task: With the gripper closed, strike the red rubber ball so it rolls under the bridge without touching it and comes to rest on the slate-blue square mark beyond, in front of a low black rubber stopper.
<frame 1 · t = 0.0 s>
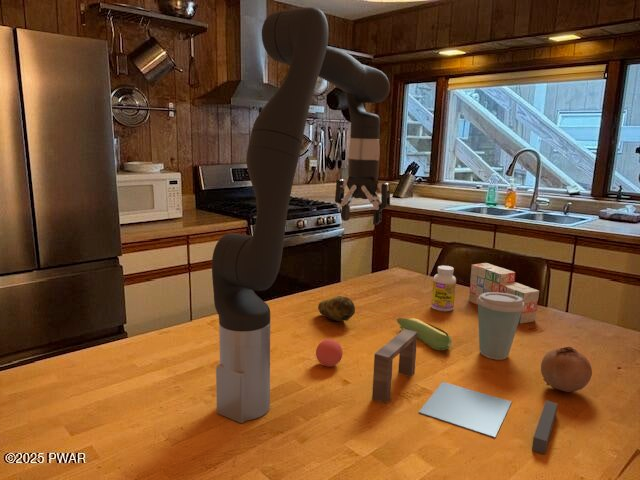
hand: (361, 222, 125), 29 cm above the table, tool pointing down, fingers open, 8 cm apart
supplement bottle: (442, 308, 150), on the table
ball: (329, 352, 111), on the table
onion: (562, 391, 103), on the table
disposable coffee cup: (494, 355, 119), on the table
edible corn: (422, 339, 128), on the table
stack of blocks: (500, 311, 150), on the table
bridge: (394, 385, 103), on the table
potato: (336, 322, 137), on the table
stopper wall: (544, 431, 88), on the table
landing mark: (466, 407, 95), on the table
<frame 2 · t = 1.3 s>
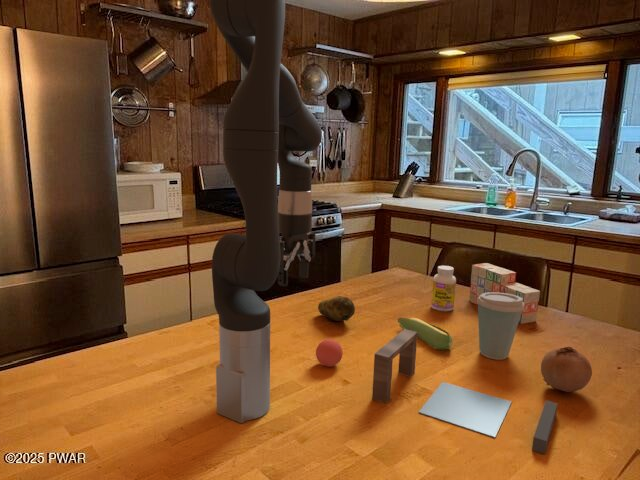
hand: (293, 281, 113), 18 cm above the table, tool pointing down, fingers open, 7 cm apart
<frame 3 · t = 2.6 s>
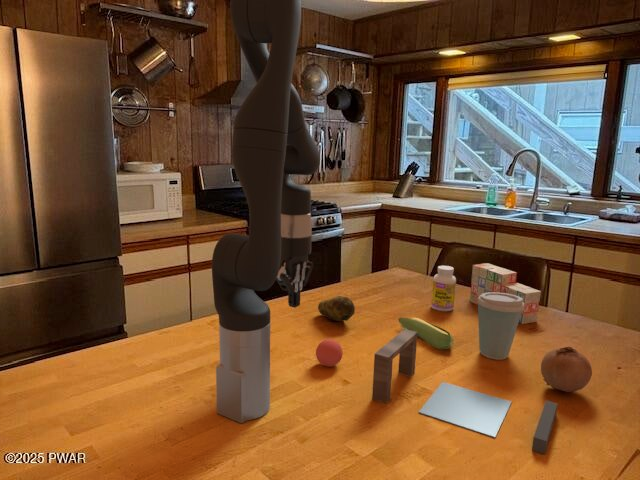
hand: (294, 305, 114), 12 cm above the table, tool pointing down, fingers closed
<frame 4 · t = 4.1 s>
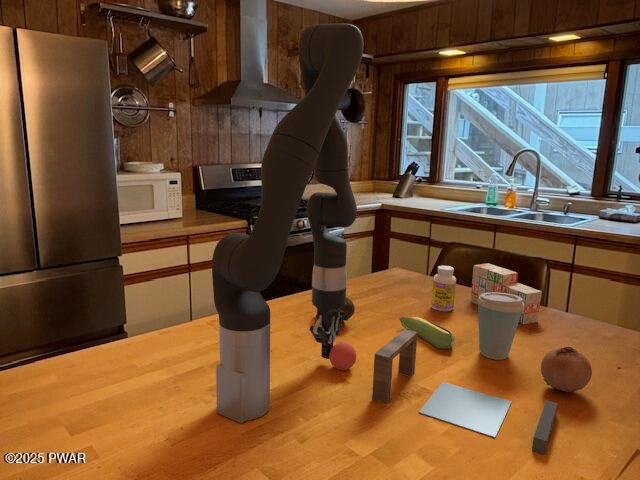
hand: (327, 357, 112), 2 cm above the table, tool pointing down, fingers closed
ball: (342, 356, 109), on the table
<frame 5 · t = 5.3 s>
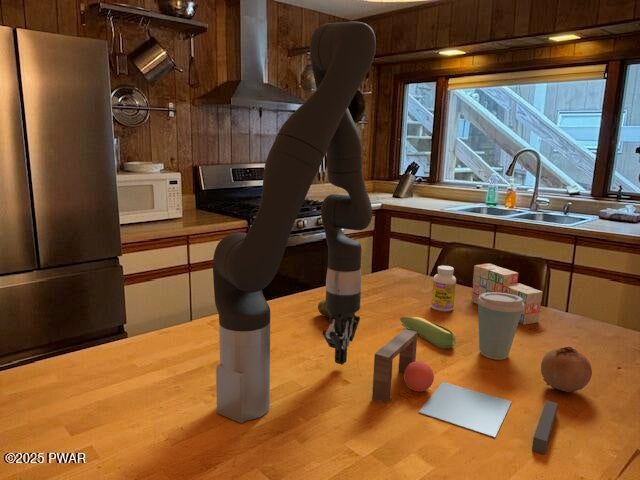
hand: (340, 362, 109), 1 cm above the table, tool pointing down, fingers closed
ball: (418, 376, 101), on the table
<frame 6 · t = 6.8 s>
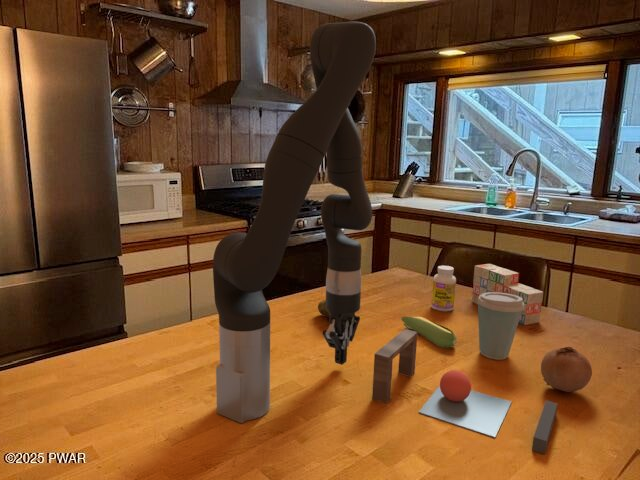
hand: (340, 362, 109), 1 cm above the table, tool pointing down, fingers closed
ball: (455, 385, 98), on the table
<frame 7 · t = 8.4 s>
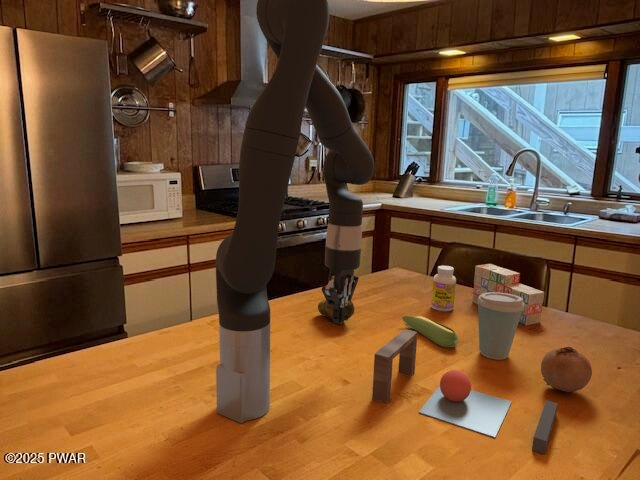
hand: (338, 322, 108), 11 cm above the table, tool pointing down, fingers closed
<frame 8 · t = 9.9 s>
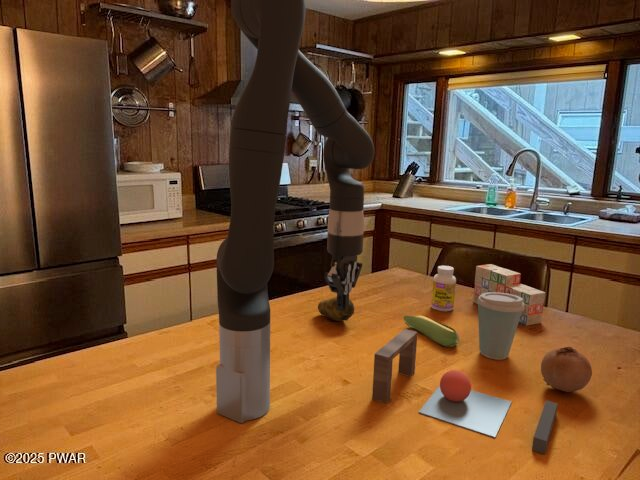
hand: (342, 309, 107), 14 cm above the table, tool pointing down, fingers closed
at the end: ball 3.3 cm from the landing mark (horizontally); ball never touched bridge; ball at rest at the end (0.0 cm/s) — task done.
